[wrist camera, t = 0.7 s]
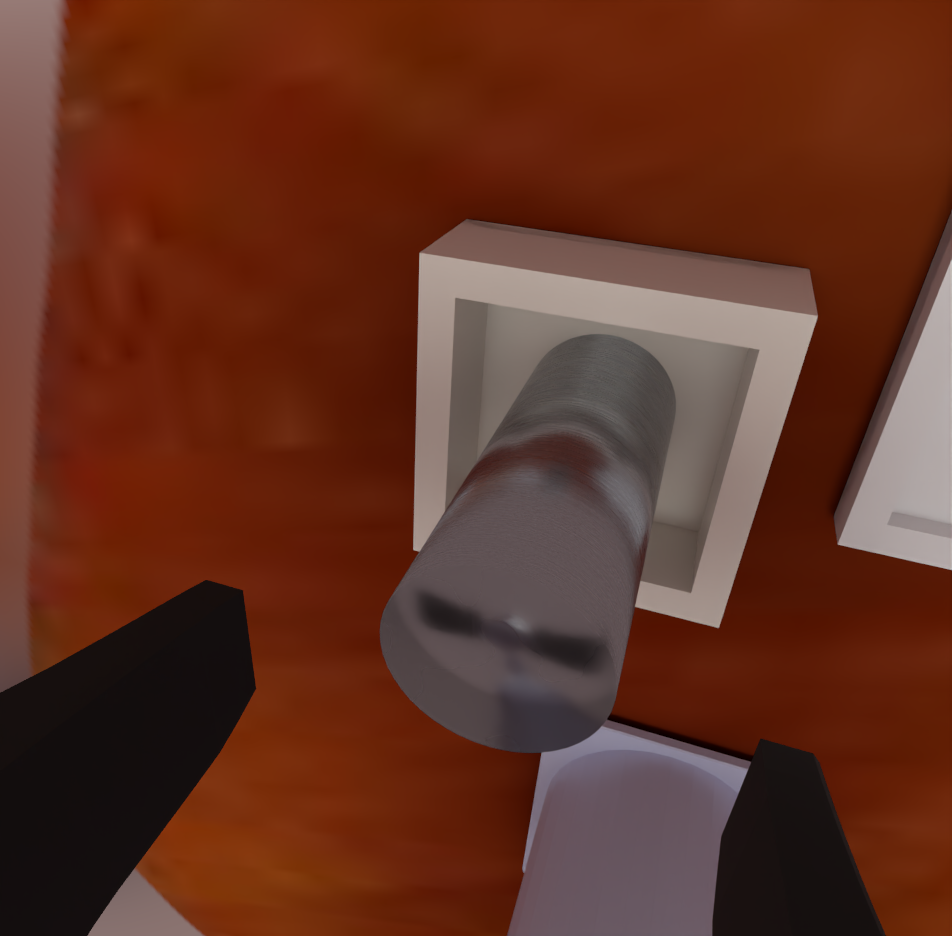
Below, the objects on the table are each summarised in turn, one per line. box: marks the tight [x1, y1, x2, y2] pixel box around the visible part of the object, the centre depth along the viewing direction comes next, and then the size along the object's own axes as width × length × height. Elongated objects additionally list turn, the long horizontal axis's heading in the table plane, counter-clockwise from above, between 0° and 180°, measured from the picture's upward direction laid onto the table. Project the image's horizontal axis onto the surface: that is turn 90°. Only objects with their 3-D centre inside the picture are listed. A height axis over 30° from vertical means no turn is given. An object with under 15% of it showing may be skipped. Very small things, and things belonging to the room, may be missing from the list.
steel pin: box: [380, 334, 676, 753], centre depth 15 cm, size 4×4×9 cm
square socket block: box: [413, 219, 818, 628], centre depth 18 cm, size 8×8×3 cm
